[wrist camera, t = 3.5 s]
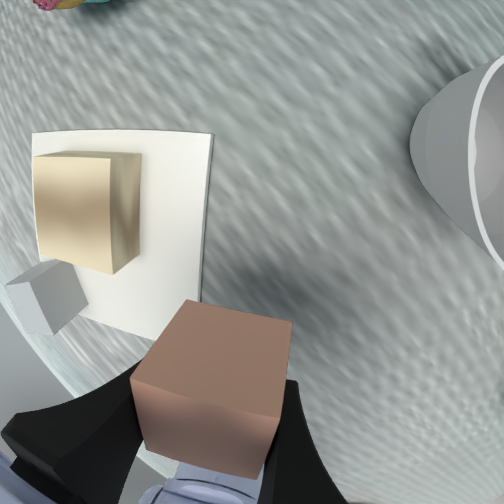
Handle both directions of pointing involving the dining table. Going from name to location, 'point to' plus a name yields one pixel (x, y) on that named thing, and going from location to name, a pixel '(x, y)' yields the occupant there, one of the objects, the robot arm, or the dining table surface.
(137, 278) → the board
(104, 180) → the maple block
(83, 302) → the grey block
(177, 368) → the terracotta block
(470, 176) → the cup
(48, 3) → the cupcake
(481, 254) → the dining table surface
